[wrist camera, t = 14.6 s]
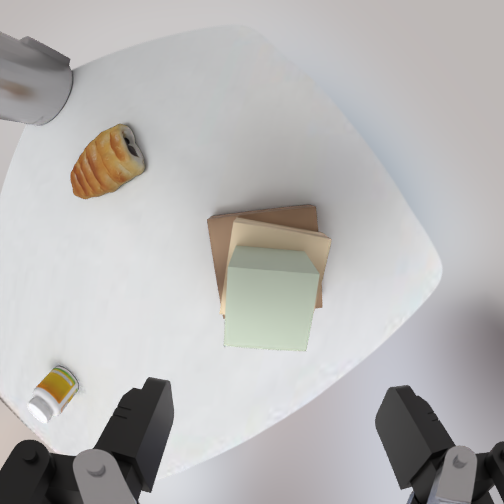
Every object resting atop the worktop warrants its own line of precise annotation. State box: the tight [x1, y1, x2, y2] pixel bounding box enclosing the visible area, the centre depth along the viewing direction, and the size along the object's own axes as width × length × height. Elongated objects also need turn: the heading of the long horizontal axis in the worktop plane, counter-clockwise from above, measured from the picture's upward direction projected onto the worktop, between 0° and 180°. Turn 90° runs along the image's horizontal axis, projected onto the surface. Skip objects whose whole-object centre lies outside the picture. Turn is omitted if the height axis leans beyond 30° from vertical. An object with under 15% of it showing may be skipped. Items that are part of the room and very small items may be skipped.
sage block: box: [224, 245, 320, 351], centre depth 20 cm, size 6×6×6 cm
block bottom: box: [207, 205, 322, 319], centre depth 28 cm, size 10×10×4 cm
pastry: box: [71, 124, 145, 199], centre depth 26 cm, size 9×7×4 cm
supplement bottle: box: [27, 367, 79, 424], centre depth 30 cm, size 5×5×10 cm
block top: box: [220, 217, 331, 315], centre depth 25 cm, size 8×8×4 cm
